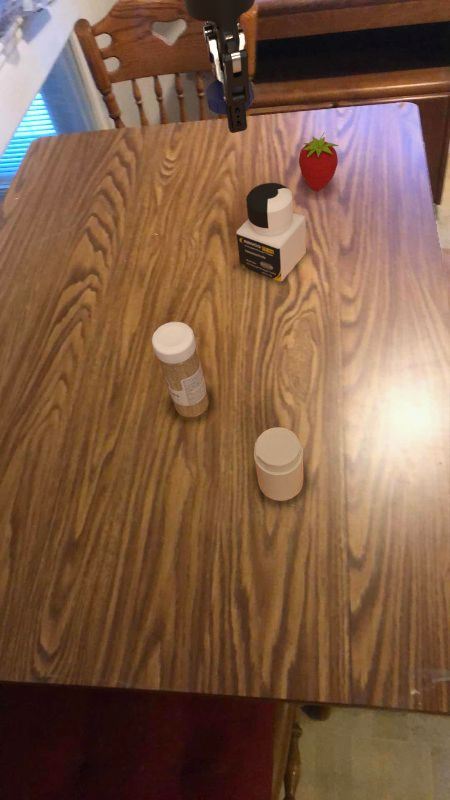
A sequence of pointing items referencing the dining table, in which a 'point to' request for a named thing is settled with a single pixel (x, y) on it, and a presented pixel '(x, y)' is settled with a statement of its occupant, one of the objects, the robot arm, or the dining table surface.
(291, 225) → the medicine bottle
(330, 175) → the strawberry
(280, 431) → the jar
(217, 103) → the jar lid
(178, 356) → the sprinkles bottle
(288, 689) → the dining table surface
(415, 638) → the dining table surface
